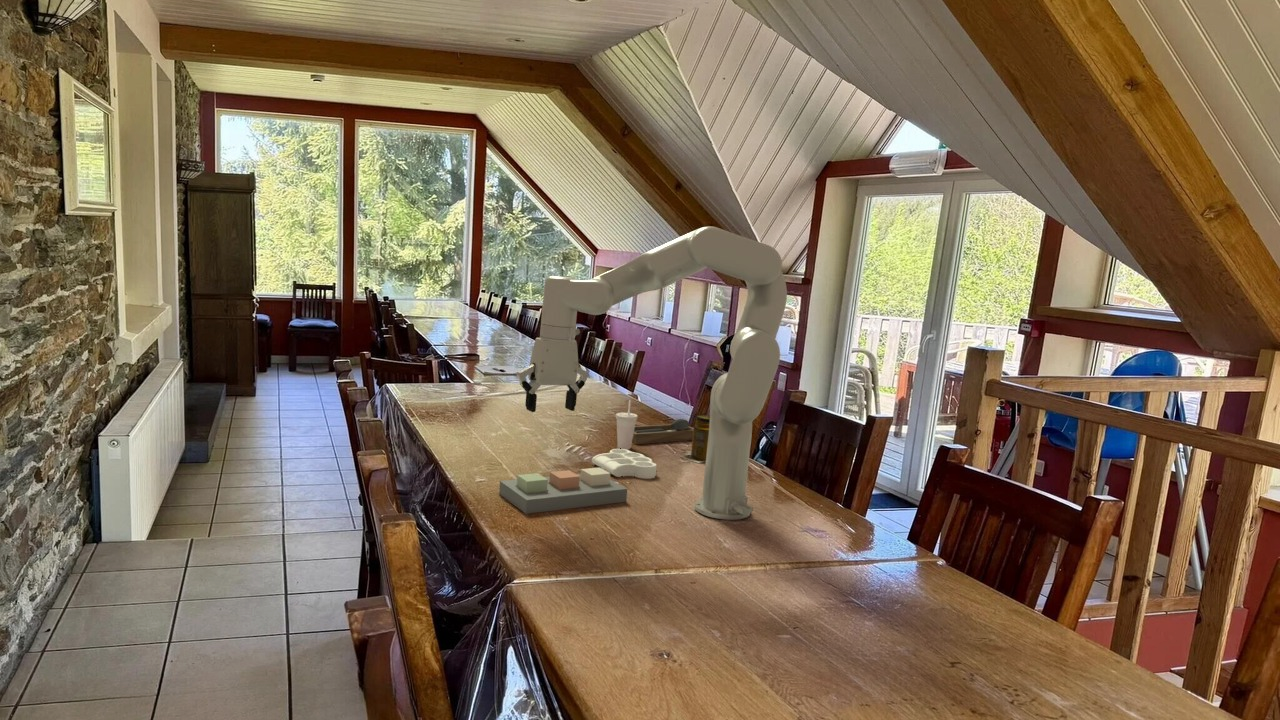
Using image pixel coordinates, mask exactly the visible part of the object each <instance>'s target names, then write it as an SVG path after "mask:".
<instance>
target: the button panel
mask: <svg viewBox="0 0 1280 720" xmlns="http://www.w3.org/2000/svg"><path fill="white" fill-rule="evenodd" d="M576 474H577V475H578V476H580V475H581V472H580V473H579V472H578V473H576ZM544 477H545V478H546V479H548V484H547V491H542V492H533V493H524V492H523V491H522V490H520V489H519V488H517V478H514V479H507V480H500V481H499V492H498V494H499V495H500V496H501V497H502V498H503V499H506V501H508V502H510V503H511V504H512V505H513V506H515V507H516V508H517V509H518V510H520V511H522V512H523V513H524V514H526V515H528V514H536V513H542V512H543V513H544V512H545V513H546V512H551V511H553V512H554V511H560V510H569V509H577V508H585V507H592V506H594V507H595V506H600V505H608V504H609V505H610V504H616V503H617V504H618V503H627V497H628V488H627V487H625V486H623V485H621V484H619V483H618V482H616V481H614V480H612V479H611V478H610V484H608V485H599V486H589V485H587V484H585V483H584V482H582V481H580V482H579V488H570V489H561V490H558V489H557V488H555V487H554V486H552V485H551V484H549V477H550V475H549V476H544Z"/></svg>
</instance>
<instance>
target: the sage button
mask: <svg viewBox="0 0 1280 720" xmlns="http://www.w3.org/2000/svg"><path fill="white" fill-rule="evenodd" d="M545 477H546V476H543V475H542V474H541V473H538V472H534V473H527V474H526V473H525V474H517V477H516V479H517V488H519V489H520V490H522V491H523V492H524V493H533V492H542V491H547V484H548V479H546V478H545Z"/></svg>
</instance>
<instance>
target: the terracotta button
mask: <svg viewBox="0 0 1280 720" xmlns="http://www.w3.org/2000/svg"><path fill="white" fill-rule="evenodd" d="M577 474H578V473H575V472H574V471H572V470H570V469H568V470H559V471H557V470H556V471H550V472H549V476H550V477H549V484H551V485H552V486H554V487H555V488H557V489H558V490H561V489H570V488H579V482H580V476H578V475H577Z"/></svg>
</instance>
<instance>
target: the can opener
mask: <svg viewBox="0 0 1280 720" xmlns="http://www.w3.org/2000/svg"><path fill="white" fill-rule="evenodd" d="M670 424H671V429H674V430H668V431H678V430H683V429H686V428H688V426H689V421H688V420H686V419H684V418H678V419H675V420H673V421H672V422H671V423H670ZM634 432H636V433H649V432H664V430H663V429H651V430H638V431H634Z"/></svg>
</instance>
